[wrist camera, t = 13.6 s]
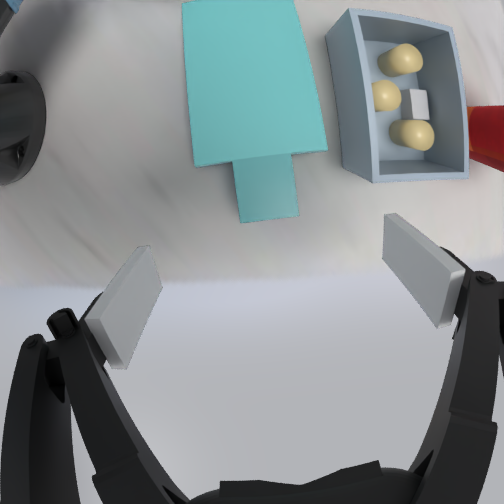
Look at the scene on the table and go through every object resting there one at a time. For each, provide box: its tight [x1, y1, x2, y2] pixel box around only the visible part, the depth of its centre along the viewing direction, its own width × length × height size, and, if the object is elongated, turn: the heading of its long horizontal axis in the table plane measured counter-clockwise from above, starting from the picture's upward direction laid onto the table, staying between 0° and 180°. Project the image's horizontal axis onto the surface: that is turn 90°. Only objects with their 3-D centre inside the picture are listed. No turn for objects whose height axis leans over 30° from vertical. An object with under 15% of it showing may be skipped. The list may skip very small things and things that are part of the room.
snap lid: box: [182, 0, 328, 223], centre depth 24 cm, size 23×11×6 cm, turn 8°
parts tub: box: [325, 8, 469, 183], centre depth 20 cm, size 14×10×8 cm
